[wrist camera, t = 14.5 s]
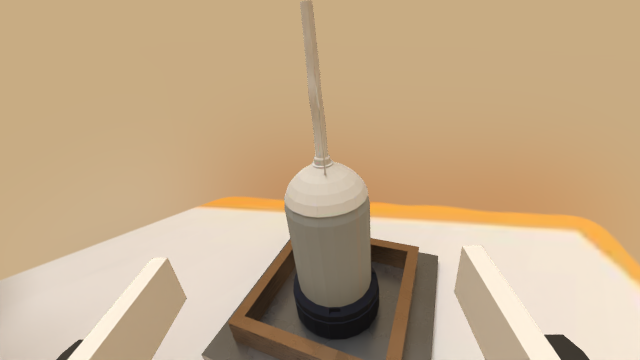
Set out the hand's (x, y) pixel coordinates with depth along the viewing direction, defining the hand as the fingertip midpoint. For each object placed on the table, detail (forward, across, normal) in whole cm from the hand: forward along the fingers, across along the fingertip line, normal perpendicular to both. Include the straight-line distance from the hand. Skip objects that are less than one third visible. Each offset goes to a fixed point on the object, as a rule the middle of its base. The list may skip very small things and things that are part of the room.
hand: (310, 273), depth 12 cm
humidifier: (+10, 0, -14) cm, 17 cm away
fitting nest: (+10, 0, -15) cm, 17 cm away
